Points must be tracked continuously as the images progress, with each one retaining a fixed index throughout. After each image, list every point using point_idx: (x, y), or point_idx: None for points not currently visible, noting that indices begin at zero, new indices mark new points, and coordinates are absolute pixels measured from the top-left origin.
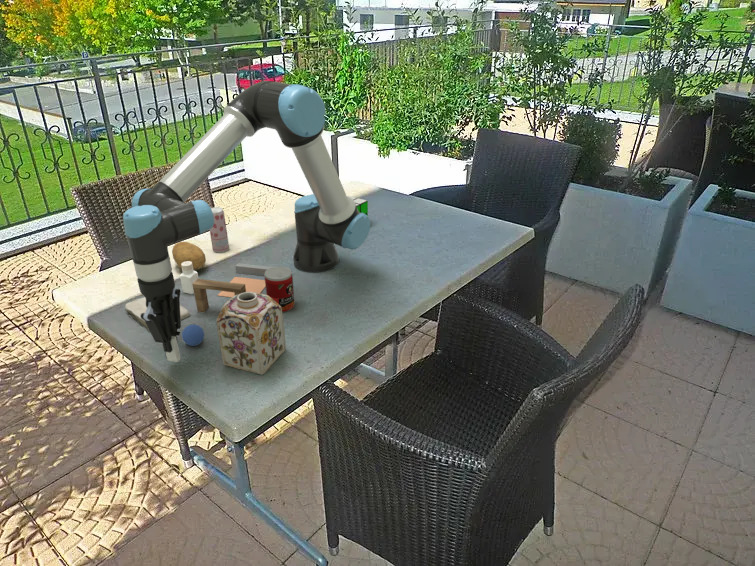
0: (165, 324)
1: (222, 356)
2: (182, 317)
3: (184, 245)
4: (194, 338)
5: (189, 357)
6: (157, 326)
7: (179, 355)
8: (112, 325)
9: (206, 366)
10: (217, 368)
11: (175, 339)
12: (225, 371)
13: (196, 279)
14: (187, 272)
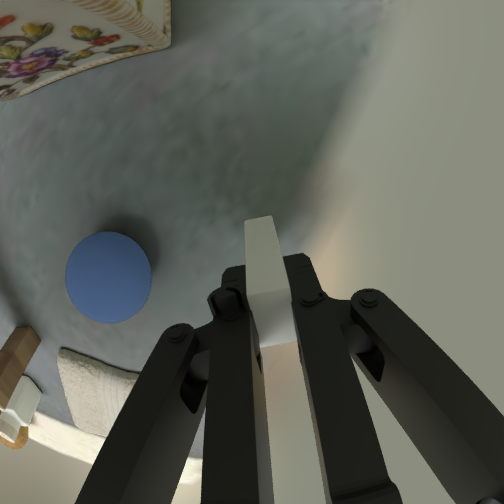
0: (364, 413)
1: (160, 33)
2: (78, 359)
3: (2, 441)
4: (123, 251)
5: (193, 213)
6: (488, 412)
7: (249, 227)
8: (201, 436)
9: (209, 106)
10: (200, 55)
11: (257, 282)
12: (203, 16)
13: None
14: (11, 421)
